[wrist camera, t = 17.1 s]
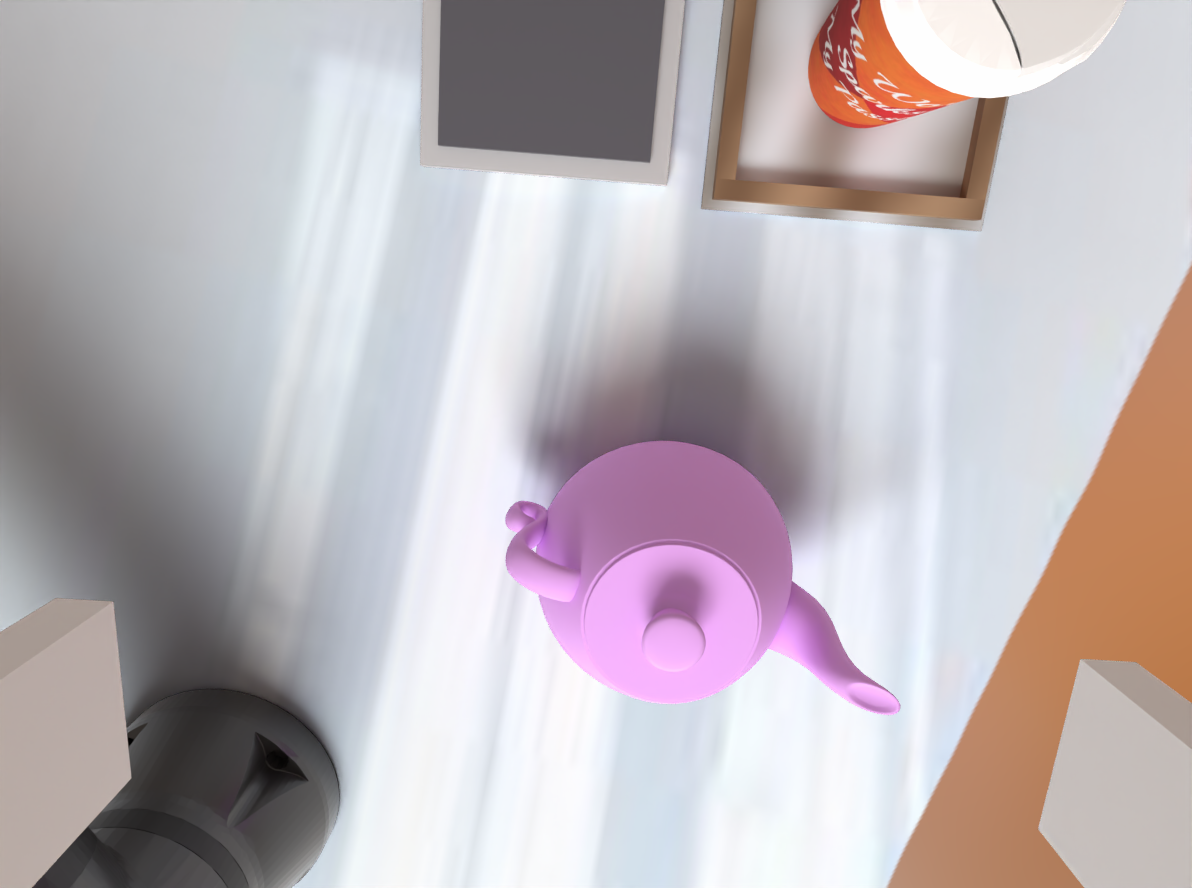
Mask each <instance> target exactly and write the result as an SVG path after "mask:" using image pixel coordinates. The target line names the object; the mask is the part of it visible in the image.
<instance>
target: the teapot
mask: <svg viewBox="0 0 1192 888" xmlns="http://www.w3.org/2000/svg"><path fill="white" fill-rule="evenodd" d="M505 521H506V525H507V527H508V528H509V529H511V530H512V531H515V532H517V534H516V535H515V536H514V538H513V539H512V541H511V543H510V545H509V547H508V549H507V553H506V566H507V570H508V572H509V573H510V575H511V576H512V577H513V578H514V579H515V580H516V581H517V582H518V583H520V584H521V585H523V586H524V587H526V588H527V589H529V590H531V591H533V592H535V593H537V594H538V595H539V600H540V603H541V606H542V609H543V612H544V615H545V618H546V620H547V622H548V625H549V627H550V629H551V631H552V633H553V634H554V636H555V637H556V639H557V641H558V642H559V644H560V645H561V647H562V648H563V649H564V651H565V652H566V653H567V654H568V655H569V657H570V658H571V659H572V660H573V661H574V662H575V663H576V664H577V665H578V666H579V667H580V668H582V669H583V670H584V671H585V672H586V673H588V674H589V675H590V676H592V677H593V678H595V679H596V680H597V681H599V682H600V683H602V684H604V685H606V686H608V687H609V688H611V689H613V690H615V691H618V692H620V693H623V694H625V695H628V696H630V697H633V698H636V699H640V700H644V701H647V702H654V703H664V704H676V703H686V702H691V701H695V700H700V699H702V698H705V697H708V696H711V695H713V694H715V693H717V692H719V691H721V690H723V689H725V688H726V687H728V686H729V685H731V684H732V683H734V682H735V681H737V680H738V679H739V678H740V677H742V676H743V675H744V674H745V673H746V672H748V671H749V670H750V669H751V668H752V667H753V666H754V665H755V664H756V663H757V662H758V661H759V659H760V658H761V657H762V656H763V654H764V653H765V652H766V650H767V649H771V650H774V651H776V652H779V653H781V654H783V655H785V656H787V657H789V658H791V659H793V660H795V661H796V662H798V663H800V664H801V665H803V666H804V667H806V668H807V669H808V670H810V671H811V672H812V673H813V674H814V675H815V676H816V677H817V678H818V679H819V680H821V681H822V682H823V683H824V684H825V685H826V686H828V687H829V688H830V689H831V690H833V691H834V692H835V693H837V694H838V695H840V696H841V697H842V698H844V699H845V700H847V701H849V702H850V703H852V704H853V705H855V706H858V707H860V708H862V709H864V710H867V711H870V712H874V713H878V714H884V715H892V714H895V713H897V712H898V711H899V710H900V704H899V701H898V700H897V699H896V697H895V696H894V695H893V694H891V693H890V692H889V691H888V690H887V689H885V688H884V687H882V686H881V685H879V684H878V683H876V682H875V681H873V680H872V679H870V678H869V677H867V676H866V675H864V674H863V673H862V672H861V671H860V670H859V669H858V668H857V667H856V666H855V665H854V664H853V663H852V661H851V660H850V659H849V657H848V656H847V654H846V652H845V650H844V649H843V646H842V644H841V642H840V640H839V637H838V635H837V632H836V630H835V627H834V625H833V623H832V621H831V619H830V617H829V615H828V614H827V612H826V611H825V609H824V608H823V607H822V606H821V605H820V603H819V602H818V601H817V600H816V599H815V598H814V597H812V596H811V595H810V594H809V593H807V592H806V591H805V590H804V589H802V588H801V587H799V586H798V585H797V584H795V583H794V582H793V581H792V569H793V568H792V554H791V546H790V542H789V537H788V532H787V529H786V527H785V524H784V521H783V518H782V516H781V514H780V512H779V510H778V508H777V506H776V505H775V503H774V501H773V499H772V497H771V496H770V495H769V493H768V492H767V491H766V489H765V488H764V486H763V485H762V484H761V483H760V482H759V481H758V480H757V479H756V478H755V477H754V476H753V475H752V474H751V473H750V472H749V471H747V470H746V469H745V468H743V467H742V466H741V465H740V464H738V463H737V462H735V461H733V460H731V459H730V458H728V457H726V456H725V455H723V454H720V453H718V452H715V451H713V450H711V449H708V448H705V447H701V446H698V445H694V444H690V443H684V442H676V441H649V442H641V443H635V444H631V445H627V446H623V447H620V448H618V449H615V450H613V451H610V452H607V453H605V454H604V455H602V456H600V457H598V458H596V459H594V460H593V461H591V462H590V463H588V464H587V465H585V466H584V467H583V468H581V469H580V470H579V471H578V472H577V473H576V474H574V475H573V476H572V477H571V478H570V479H569V480H568V481H567V482H566V483H565V485H564V486H563V487H562V488H561V490H560V491H559V492H558V493H557V495H556V497H555V498H554V500H553V502H552V503H551V505H550V507H549V508H548V511H547V510H546V509H545V508H544V507H542V506H541V505H539V504H536V503H533V502H528V501H519V502H516V503H515V504H514V505H512V506H511V507H510V509H509V510H508V512H507V514H506V520H505ZM536 545H537V549H536V553H535V552H534V551H533V550H531V549H533V548H534V547H535V546H536Z"/></svg>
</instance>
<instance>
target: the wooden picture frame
mask: <svg viewBox="0 0 1192 888" xmlns="http://www.w3.org/2000/svg"><path fill="white" fill-rule="evenodd" d="M838 1H839V0H724V4H723V13H722V22H721V32H720V41H719V50H718V59H717V68H716V77H715V86H714V95H713V104H712V114H711V123H710V132H709V141H708V150H707V159H706V168H705V177H704V186H703V196H702V205H701V209H709V210H721V211H734V212H746V213H758V214H771V215H783V216H796V217H808V218H820V219H833V220H845V221H858V222H870V223H882V224H895V225H907V226H919V227H932V228H944V229H957V230H969V231H981V230H982V226H983V221H984V216H985V211H986V206H987V201H988V196H989V191H990V186H991V182H992V177H993V172H994V167H995V162H996V157H997V152H998V147H999V142H1000V138H1001V133H1002V128H1003V123H1004V118H1005V113H1006V108H1007V103H1008V98H1009V96H1005V97H996V98H979V97H974V98H971V99H967V100H964V101H961V102H958V103H955V104H952V105H949V106H945V107H942V108H939V109H936V110H933V111H929V112H926V113H923V114H920V115H917V116H913V117H910V118H907V119H903V120H900V121H897V122H893V123H890V124H886V125H882V126H878V127H872V128H852V127H847V126H844V125H841V124H839V123H837V122H835V121H834V120H832V119H831V118H829V117H828V116H827V115H826V114H825V113H824V112H823V111H822V110H821V109H820V107H819V106H818V105H817V103H816V101H815V99H814V97H813V95H812V92H811V89H810V85H809V79H808V64H809V57H810V53H811V49H812V46H813V44H814V41H815V39H816V37H817V35H818V33H819V31H820V29H821V27H822V26H823V24H824V23H825V21H826V19H827V18H828V16H829V15H830V13H831V12H832V10H833V9H834V7H835V6H836V4H837V2H838Z"/></svg>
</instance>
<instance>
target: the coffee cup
mask: <svg viewBox="0 0 1192 888" xmlns="http://www.w3.org/2000/svg"><path fill="white" fill-rule="evenodd" d="M1125 3H1126V0H839V1H838V2H837V4H836V6H835V7H834V9H833V10H832V12H831V13H830V15H829V16H828V18H827V19H826V21H825V23H824V24H823V26H822V27H821V29H820V31H819V33H818V35H817V37H816V39H815V41H814V44H813V46H812V49H811V53H810V57H809V64H808V79H809V85H810V89H811V92H812V95H813V97H814V99H815V101H816V103H817V105H818V106H819V107H820V109H821V110H822V111H823V112H824V113H825V114H826V115H827V116H828V117H829V118H831V119H832V120H834V121H835V122H837V123H839V124H841V125H844V126H847V127H852V128H872V127H878V126H882V125H886V124H890V123H893V122H897V121H900V120H903V119H907V118H910V117H913V116H917V115H920V114H923V113H926V112H929V111H933V110H936V109H939V108H942V107H945V106H949V105H952V104H955V103H958V102H961V101H964V100H967V99H971V98H974V97H979V98H996V97H1005V96H1011V95H1015V94H1019V93H1022V92H1026V91H1029V90H1032V89H1034V88H1036V87H1038V86H1041V85H1043V84H1045V83H1047V82H1049V81H1051V80H1052V79H1054V78H1056V77H1057V76H1059V75H1060V74H1062V73H1064V72H1065V71H1067V70H1068V69H1070V68H1072V67H1074V66H1076V65H1077V64H1079V63H1081V62H1083V61H1084V60H1086V59H1087V58H1088V57H1089V56H1090V55H1091V54H1092V53H1093V52H1094V50H1095V49H1096V48H1097V47H1098V46H1099V45H1100V44H1101V43H1102V41H1103V40H1104V38H1105V37H1106V36H1107V34H1108V33H1109V31H1110V30H1111V28H1112V27H1113V26H1114V24H1115V22H1116V20H1117V18H1118V16H1119V14H1120V13H1121V11H1122V9H1123V7H1124V5H1125Z"/></svg>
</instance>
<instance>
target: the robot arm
mask: <svg viewBox="0 0 1192 888" xmlns="http://www.w3.org/2000/svg"><path fill="white" fill-rule="evenodd" d="M338 809H339V788H338V782H337V777H336V774H335V771H334V768H333V765H332V763H331V761H330V759H329V757H328V755H327V753H326V752H325V750H324V748H323V747H322V745H321V744H320V743H319V741H318V740H317V739H316V737H315V736H314V735H313V734H312V733H311V732H310V731H309V730H308V729H307V728H306V727H305V726H304V725H303V724H302V723H301V722H300V721H298V720H297V719H296V718H295V717H293V716H292V715H290V714H289V713H288V712H286V711H284V710H283V709H281V708H279V707H278V706H276V705H274V704H272V703H270V702H268V701H265V700H263V699H260V698H258V697H255V696H252V695H249V694H245V693H241V692H236V691H230V690H220V689H203V690H193V691H187V692H183V693H179V694H176V695H173V696H170V697H168V698H165V699H163V700H161V701H159V702H157V703H156V704H154V705H152V706H151V707H150V708H148V709H147V710H146V711H144V712H143V713H142V714H141V715H140V716H139V717H138V718H137V719H136V720H135V721H134V722H133V723H132V724H131V725H130V726H129V727H127V728H126V720H125V710H124V700H123V690H122V681H121V671H120V661H119V651H118V642H117V632H116V622H115V612H114V603H113V601H97V600H80V599H63V598H55V599H53V600H52V601H50V602H49V603H47V604H45V605H44V606H42V607H40V608H39V609H37V610H36V611H34V612H32V613H31V614H29V615H27V616H26V617H24V618H22V619H21V620H19V621H18V622H16V623H14V624H13V625H11V626H9V627H8V628H6V629H5V630H3V631H1V632H0V888H292V887H293V886H294V885H295V884H296V883H298V882H299V881H300V880H301V879H302V878H303V877H304V876H305V875H306V874H307V873H308V872H309V870H310V869H311V868H312V866H313V865H314V864H315V862H316V861H317V859H318V858H319V856H320V854H321V852H322V850H323V848H324V846H325V844H326V842H327V840H328V838H329V836H330V834H331V832H332V830H333V827H334V825H335V822H336V819H337V815H338ZM1038 829H1039V831H1040V832H1041V833H1042V834H1043V836H1044V837H1045V838H1046V839H1047V841H1048V842H1049V843H1050V844H1051V846H1052V847H1053V848H1054V850H1055V851H1056V852H1057V854H1058V855H1059V856H1060V857H1061V859H1062V860H1063V861H1064V862H1065V864H1066V865H1067V866H1068V868H1069V869H1070V870H1071V871H1072V873H1073V874H1074V875H1075V877H1076V878H1077V879H1078V880H1079V882H1080V883H1081V884H1082V885H1083V887H1084V888H1192V703H1191V702H1189V701H1188V700H1186V699H1185V698H1184V697H1182V696H1181V695H1180V694H1178V693H1177V692H1175V691H1174V690H1173V689H1172V688H1170V687H1169V686H1167V685H1166V684H1165V683H1163V682H1162V681H1161V680H1159V679H1158V678H1156V677H1155V676H1154V675H1152V674H1151V673H1150V672H1148V671H1147V670H1145V669H1144V668H1143V667H1142V666H1140V665H1139V664H1138V663H1136V662H1123V661H1106V660H1089V659H1080V663H1079V668H1078V671H1077V675H1076V680H1075V683H1074V687H1073V692H1072V695H1071V699H1070V703H1069V707H1068V711H1067V715H1066V719H1065V724H1064V727H1063V732H1062V735H1061V740H1060V744H1059V748H1058V752H1057V756H1056V760H1055V764H1054V768H1053V772H1052V776H1051V780H1050V784H1049V788H1048V792H1047V796H1046V800H1045V804H1044V808H1043V812H1042V816H1041V820H1040V824H1039V828H1038Z"/></svg>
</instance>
